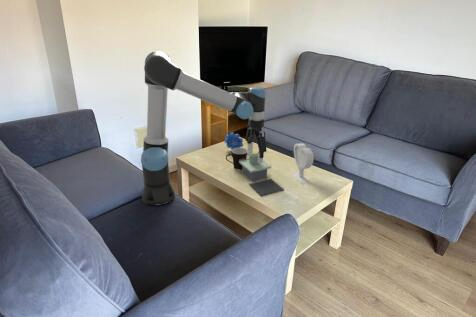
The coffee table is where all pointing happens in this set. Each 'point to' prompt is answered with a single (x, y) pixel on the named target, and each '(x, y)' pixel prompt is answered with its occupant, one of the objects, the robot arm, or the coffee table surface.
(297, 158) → the heart sculpture
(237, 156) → the coffee mug
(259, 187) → the mat
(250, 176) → the grey open box
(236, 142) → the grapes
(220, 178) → the coffee table surface
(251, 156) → the lid
